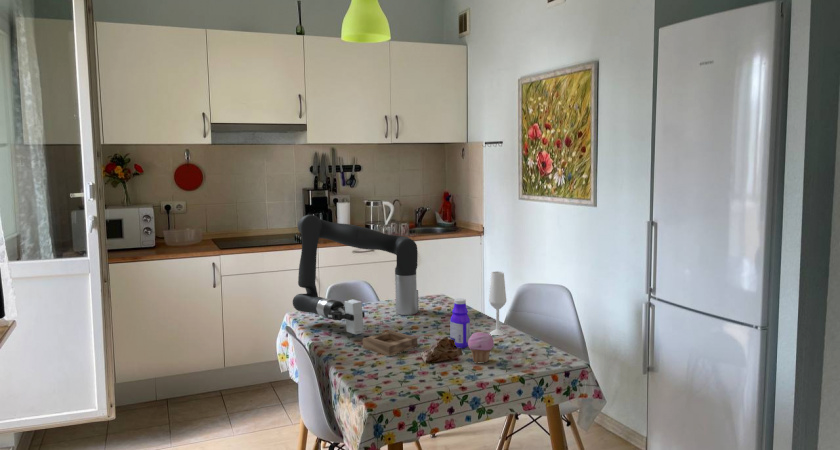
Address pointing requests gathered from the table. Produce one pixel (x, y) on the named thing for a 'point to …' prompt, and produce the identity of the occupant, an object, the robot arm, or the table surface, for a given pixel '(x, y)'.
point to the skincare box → (356, 310)
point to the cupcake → (480, 346)
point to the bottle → (460, 324)
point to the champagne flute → (497, 297)
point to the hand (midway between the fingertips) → (358, 316)
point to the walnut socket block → (389, 343)
